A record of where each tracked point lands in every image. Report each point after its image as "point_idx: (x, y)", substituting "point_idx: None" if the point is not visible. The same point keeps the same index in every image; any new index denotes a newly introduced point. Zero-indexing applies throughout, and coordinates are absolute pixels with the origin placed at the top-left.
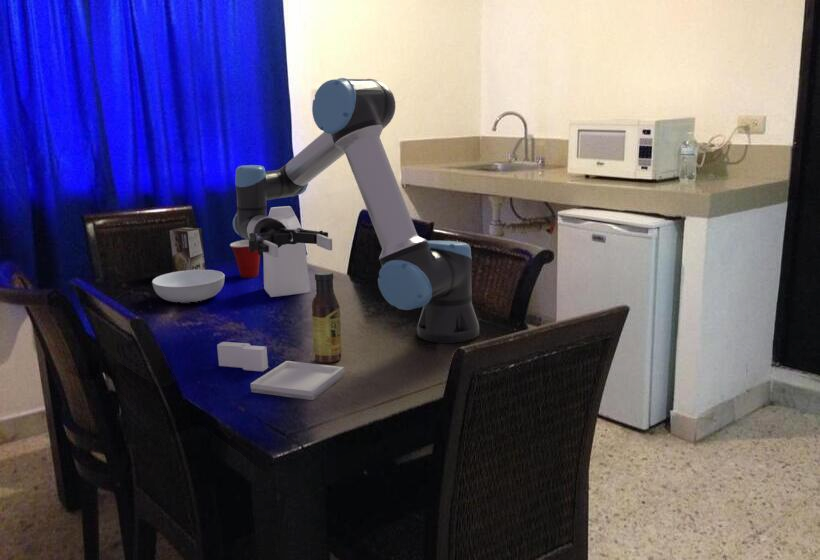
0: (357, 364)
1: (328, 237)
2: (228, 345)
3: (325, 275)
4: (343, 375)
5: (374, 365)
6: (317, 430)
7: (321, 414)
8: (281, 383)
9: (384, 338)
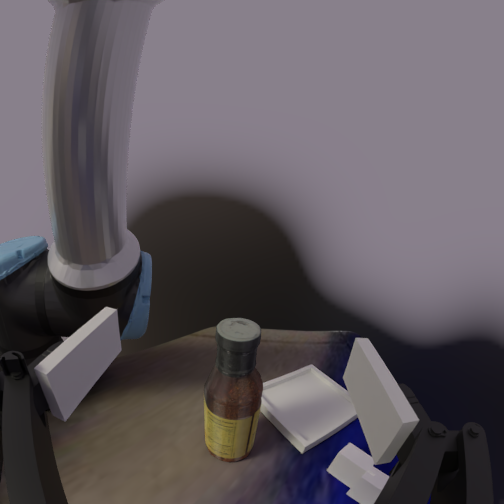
0: None
1: (90, 319)
2: None
3: (246, 320)
4: None
5: (195, 394)
6: (324, 338)
7: (312, 351)
8: (330, 405)
9: (90, 440)
